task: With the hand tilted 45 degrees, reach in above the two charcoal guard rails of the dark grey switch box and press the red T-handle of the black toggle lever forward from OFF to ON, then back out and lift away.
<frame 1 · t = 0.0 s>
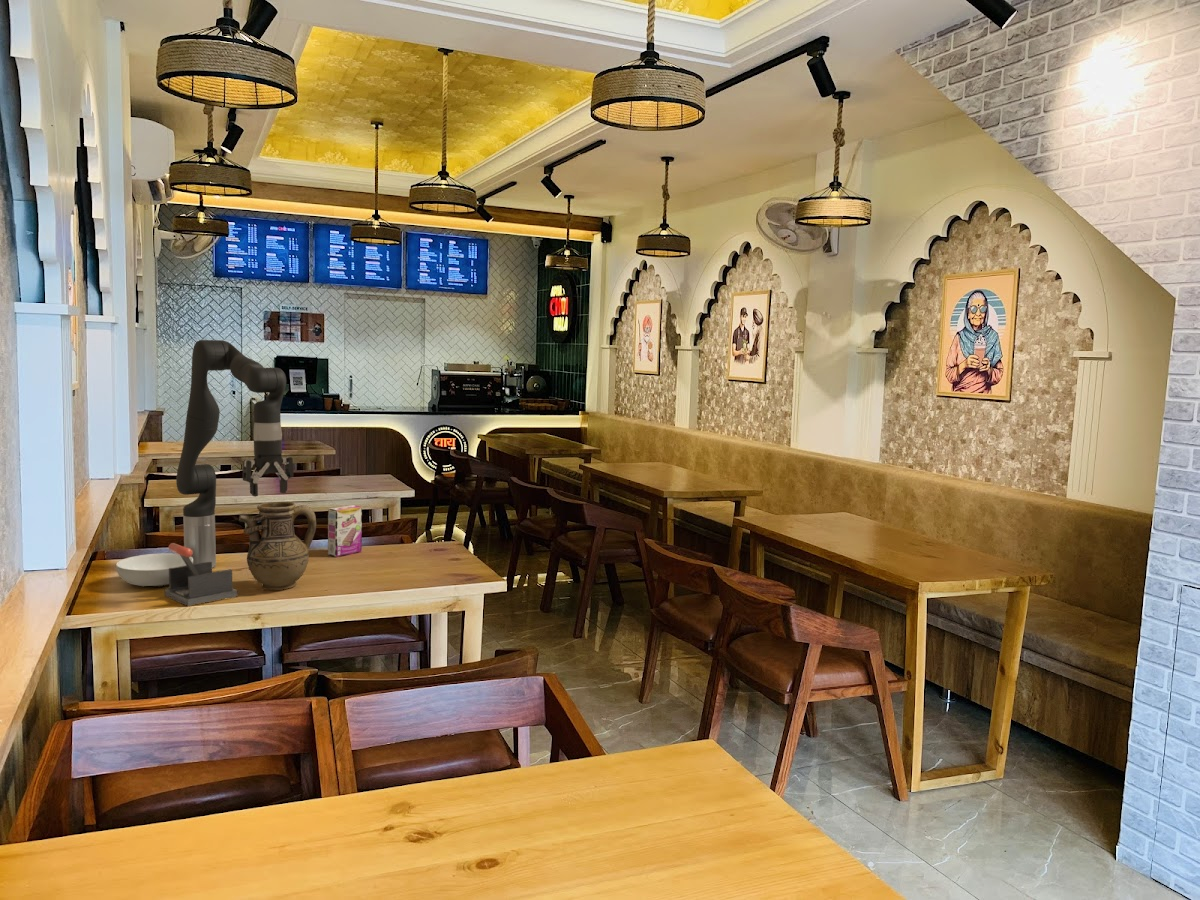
hand: (268, 494, 258), 29 cm above the table, tool pointing down, fingers open, 8 cm apart
switch lever: (190, 565, 255), point 10 cm above the table, hinge at -28.0°
serving bowl: (156, 583, 271), on the table
decorative pitcher: (279, 587, 270), on the table
switch box: (201, 596, 258), on the table
candy bar box: (345, 554, 314), on the table
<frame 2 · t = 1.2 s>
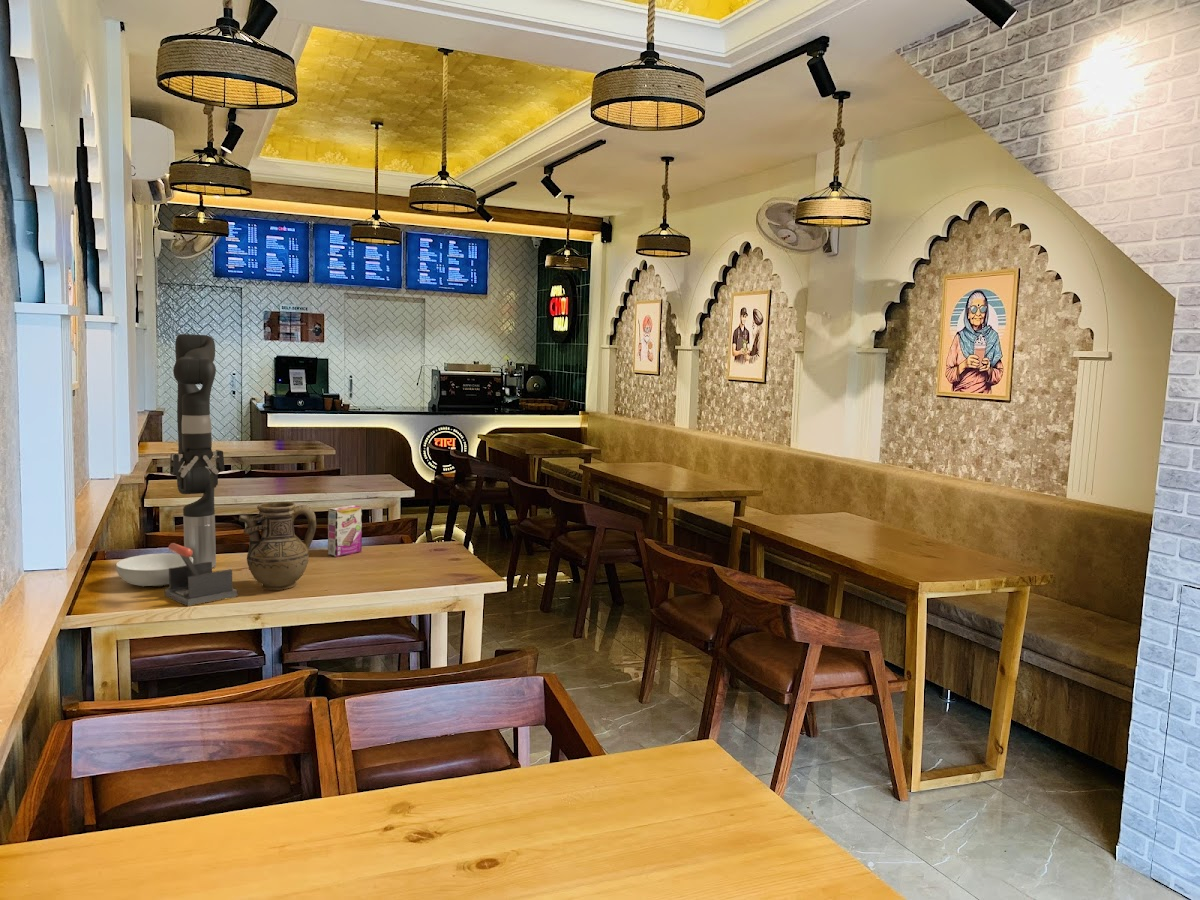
hand: (198, 488, 252), 32 cm above the table, tool pointing down, fingers open, 8 cm apart
nothing on the table moved.
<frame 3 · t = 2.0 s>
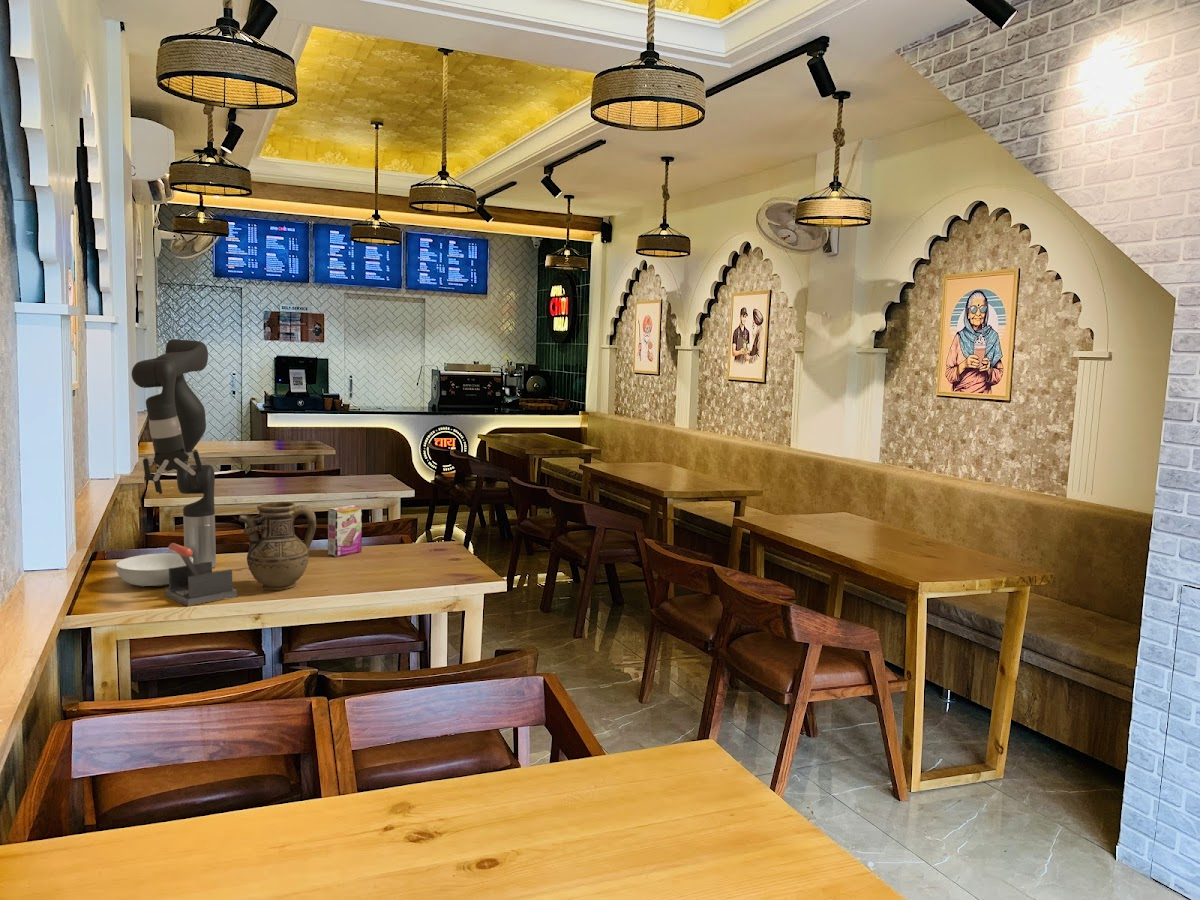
hand: (177, 490, 248), 32 cm above the table, tool pointing down, fingers open, 8 cm apart
nothing on the table moved.
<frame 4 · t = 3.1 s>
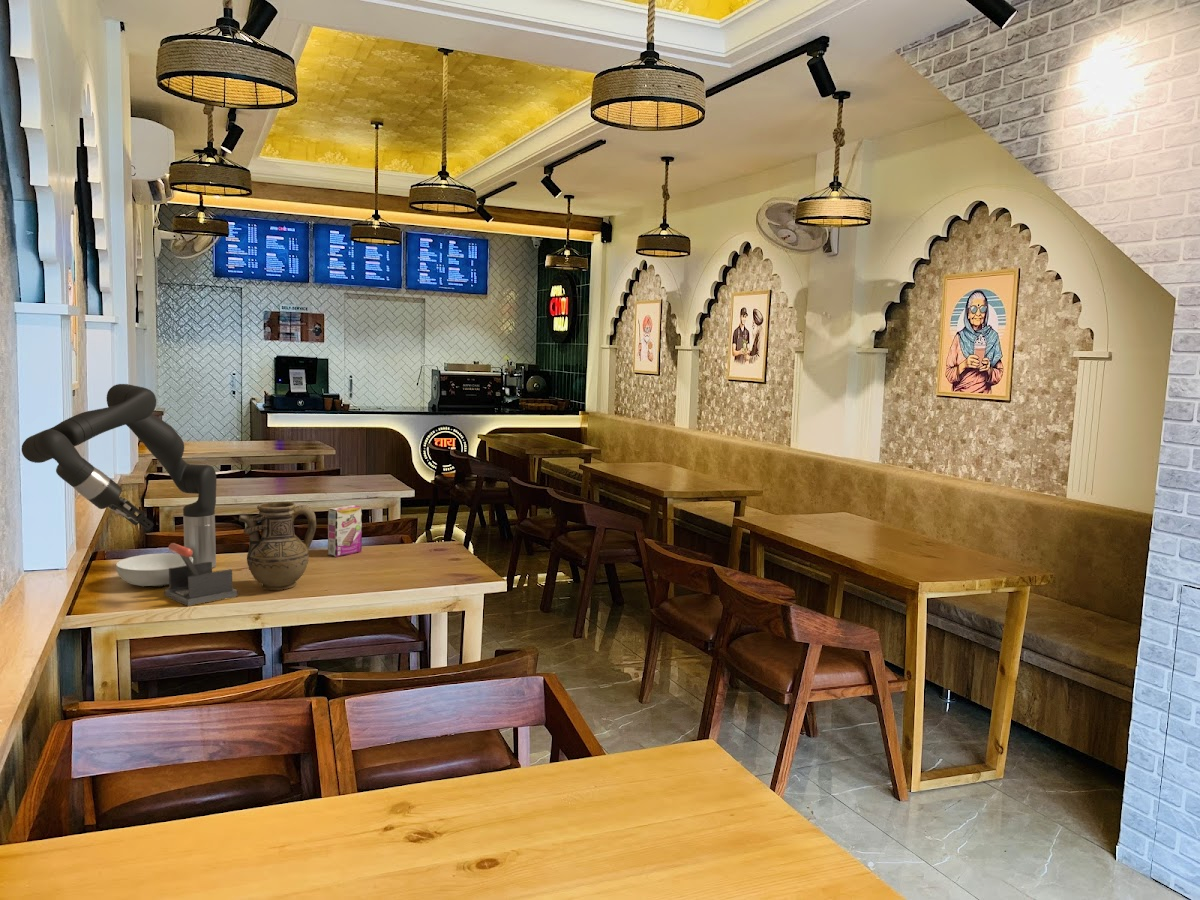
hand: (144, 524, 244), 23 cm above the table, tool tilted 45°, fingers open, 8 cm apart
nothing on the table moved.
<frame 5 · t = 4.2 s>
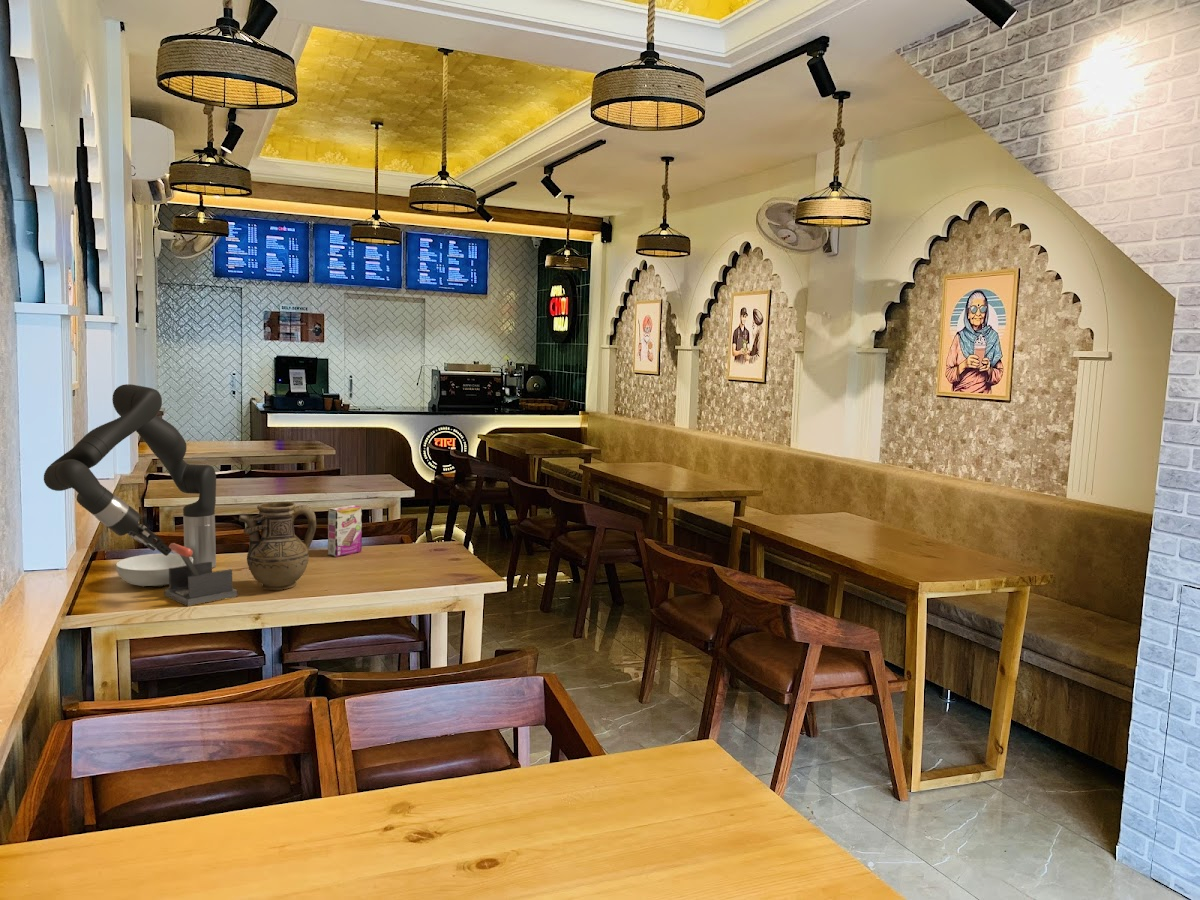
hand: (162, 550, 249), 15 cm above the table, tool tilted 45°, fingers open, 8 cm apart
nothing on the table moved.
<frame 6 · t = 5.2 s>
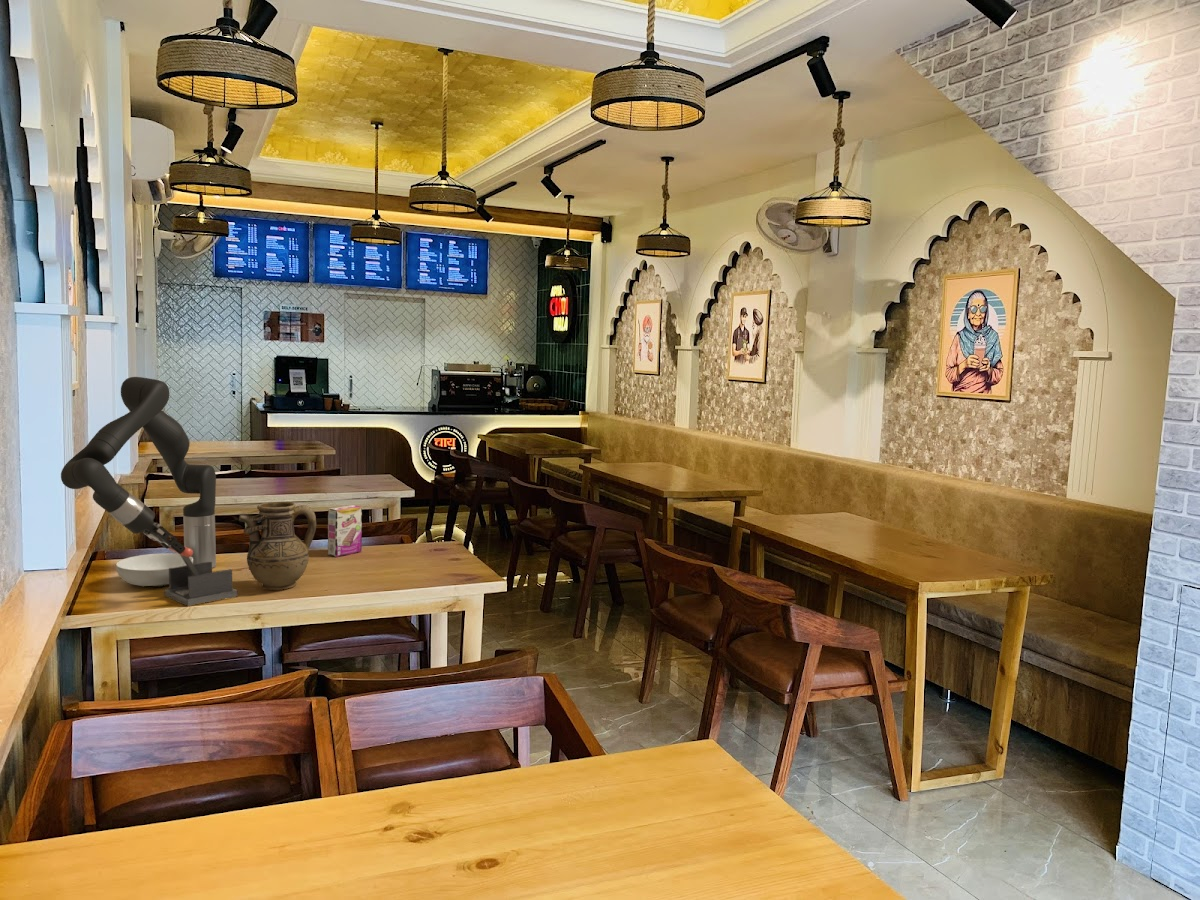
hand: (176, 548, 251), 15 cm above the table, tool tilted 45°, fingers open, 8 cm apart
switch lever: (190, 565, 255), point 10 cm above the table, hinge at -27.7°, touching gripper
everything else where it was.
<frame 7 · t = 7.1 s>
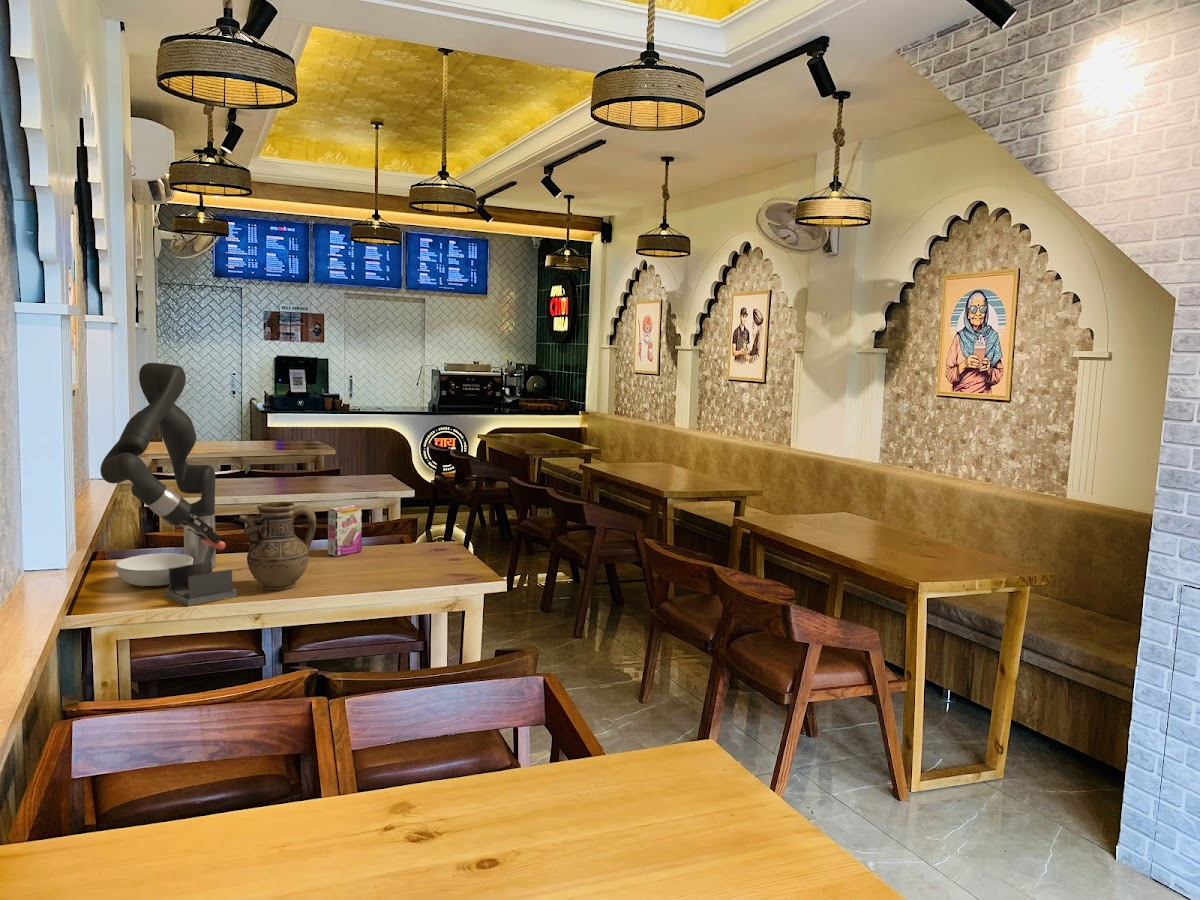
hand: (211, 538, 259), 16 cm above the table, tool tilted 45°
switch lever: (207, 561, 258), point 10 cm above the table, hinge at 20.2°, touching gripper
everything else where it was.
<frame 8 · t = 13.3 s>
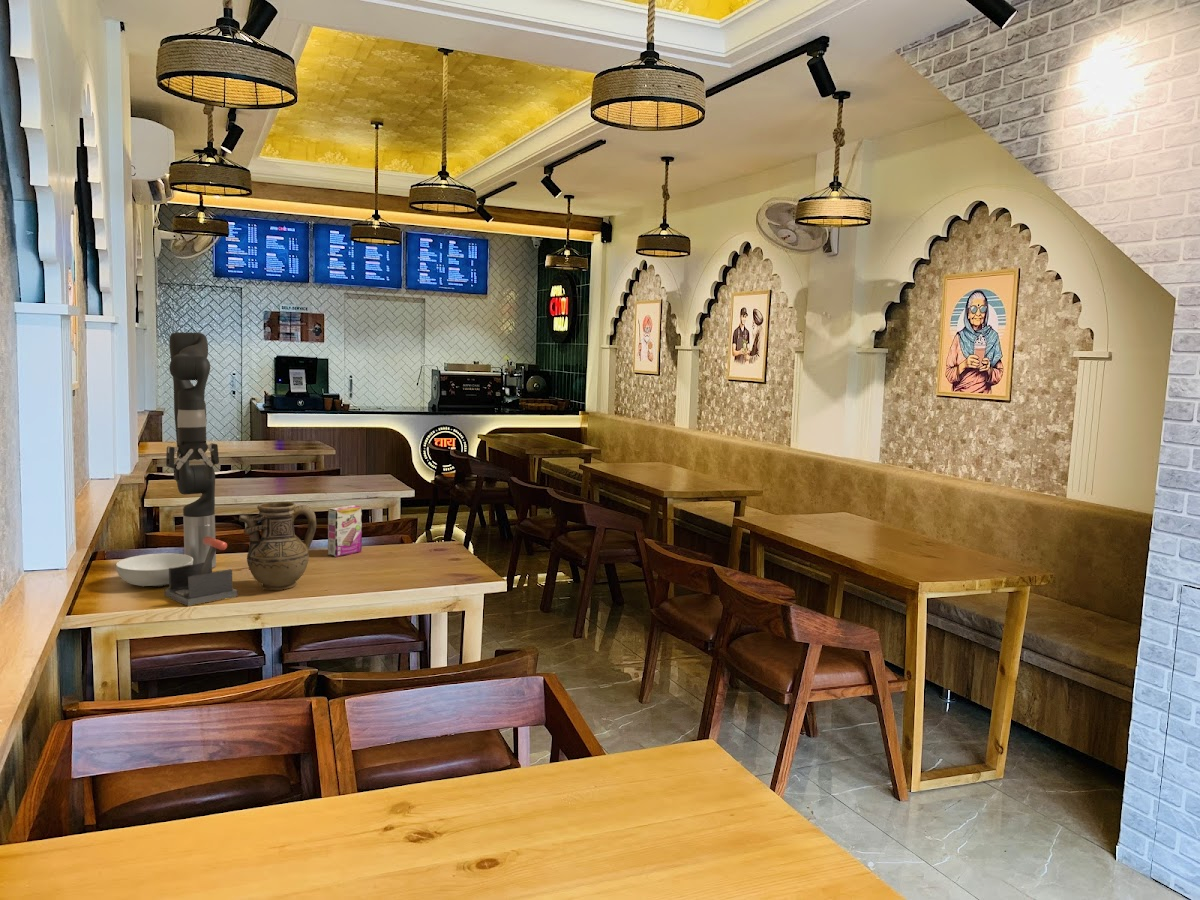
hand: (193, 480, 263), 32 cm above the table, tool pointing down, fingers open, 8 cm apart
switch lever: (208, 561, 258), point 10 cm above the table, hinge at 22.6°
everything else where it was.
at the end: switch lever at +23° (first picture: -28°); decorative pitcher moved 0.2 cm from its start; serving bowl moved 0.3 cm from its start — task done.
